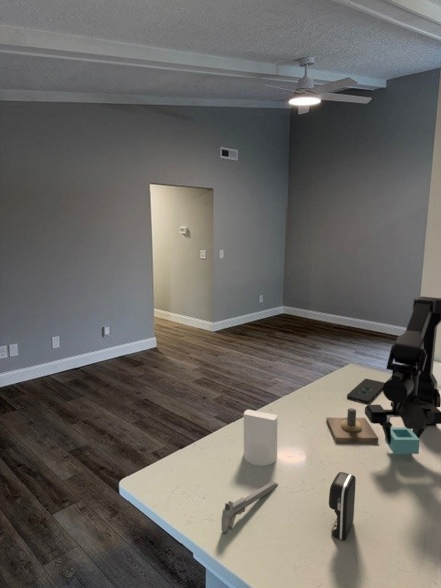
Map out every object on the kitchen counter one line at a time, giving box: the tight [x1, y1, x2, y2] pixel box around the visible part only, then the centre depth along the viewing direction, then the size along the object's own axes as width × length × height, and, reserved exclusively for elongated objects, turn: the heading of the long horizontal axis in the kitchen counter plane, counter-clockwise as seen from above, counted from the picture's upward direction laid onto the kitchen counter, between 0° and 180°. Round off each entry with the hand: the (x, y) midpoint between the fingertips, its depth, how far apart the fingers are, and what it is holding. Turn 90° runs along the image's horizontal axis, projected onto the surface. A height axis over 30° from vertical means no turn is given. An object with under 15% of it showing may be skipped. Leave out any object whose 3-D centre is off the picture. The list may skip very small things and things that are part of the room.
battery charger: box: [328, 471, 356, 541], centre depth 82 cm, size 7×4×11 cm, turn 147°
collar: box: [384, 426, 421, 455], centre depth 108 cm, size 6×6×4 cm
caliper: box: [221, 481, 279, 534], centre depth 89 cm, size 20×1×6 cm, turn 141°
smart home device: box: [346, 378, 385, 405], centre depth 149 cm, size 8×2×20 cm
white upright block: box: [243, 409, 278, 466], centre depth 108 cm, size 9×9×12 cm
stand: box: [325, 407, 379, 444], centre depth 120 cm, size 12×12×7 cm
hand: (401, 443), depth 108 cm, fingers closed on collar, 6 cm apart
